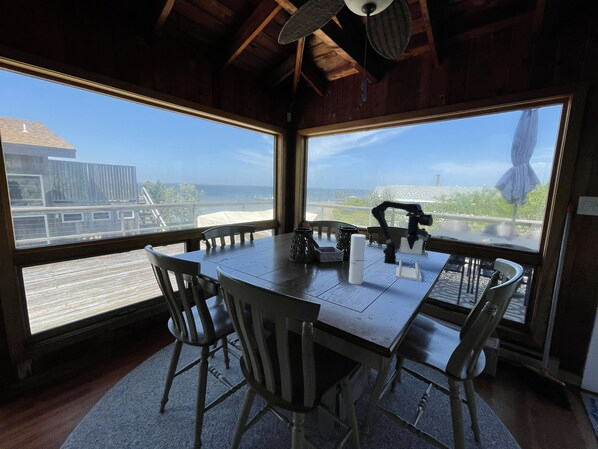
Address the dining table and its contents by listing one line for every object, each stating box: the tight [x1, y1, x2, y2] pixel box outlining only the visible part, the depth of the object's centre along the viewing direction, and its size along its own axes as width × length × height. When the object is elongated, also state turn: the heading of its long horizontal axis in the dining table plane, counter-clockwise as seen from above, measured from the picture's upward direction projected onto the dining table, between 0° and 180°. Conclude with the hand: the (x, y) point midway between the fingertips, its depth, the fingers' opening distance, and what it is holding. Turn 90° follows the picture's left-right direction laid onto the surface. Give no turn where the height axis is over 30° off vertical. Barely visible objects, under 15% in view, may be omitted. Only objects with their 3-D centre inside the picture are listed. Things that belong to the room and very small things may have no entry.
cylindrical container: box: [348, 233, 367, 285], centre depth 132 cm, size 7×7×25 cm
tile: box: [399, 237, 424, 255], centre depth 158 cm, size 12×2×9 cm, turn 69°
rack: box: [395, 259, 423, 282], centre depth 147 cm, size 13×18×6 cm
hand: (410, 248), depth 158 cm, fingers closed on tile, 2 cm apart
